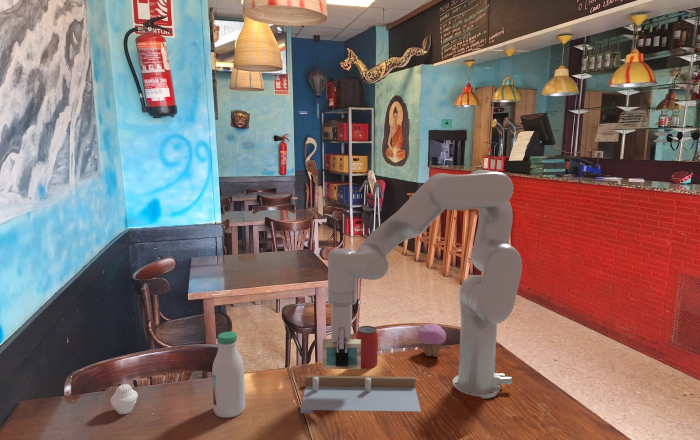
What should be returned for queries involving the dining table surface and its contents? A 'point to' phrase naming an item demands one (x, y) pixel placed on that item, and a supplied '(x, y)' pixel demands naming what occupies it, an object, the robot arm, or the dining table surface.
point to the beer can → (368, 346)
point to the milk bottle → (228, 378)
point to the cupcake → (431, 339)
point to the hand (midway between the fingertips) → (342, 362)
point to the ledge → (359, 394)
